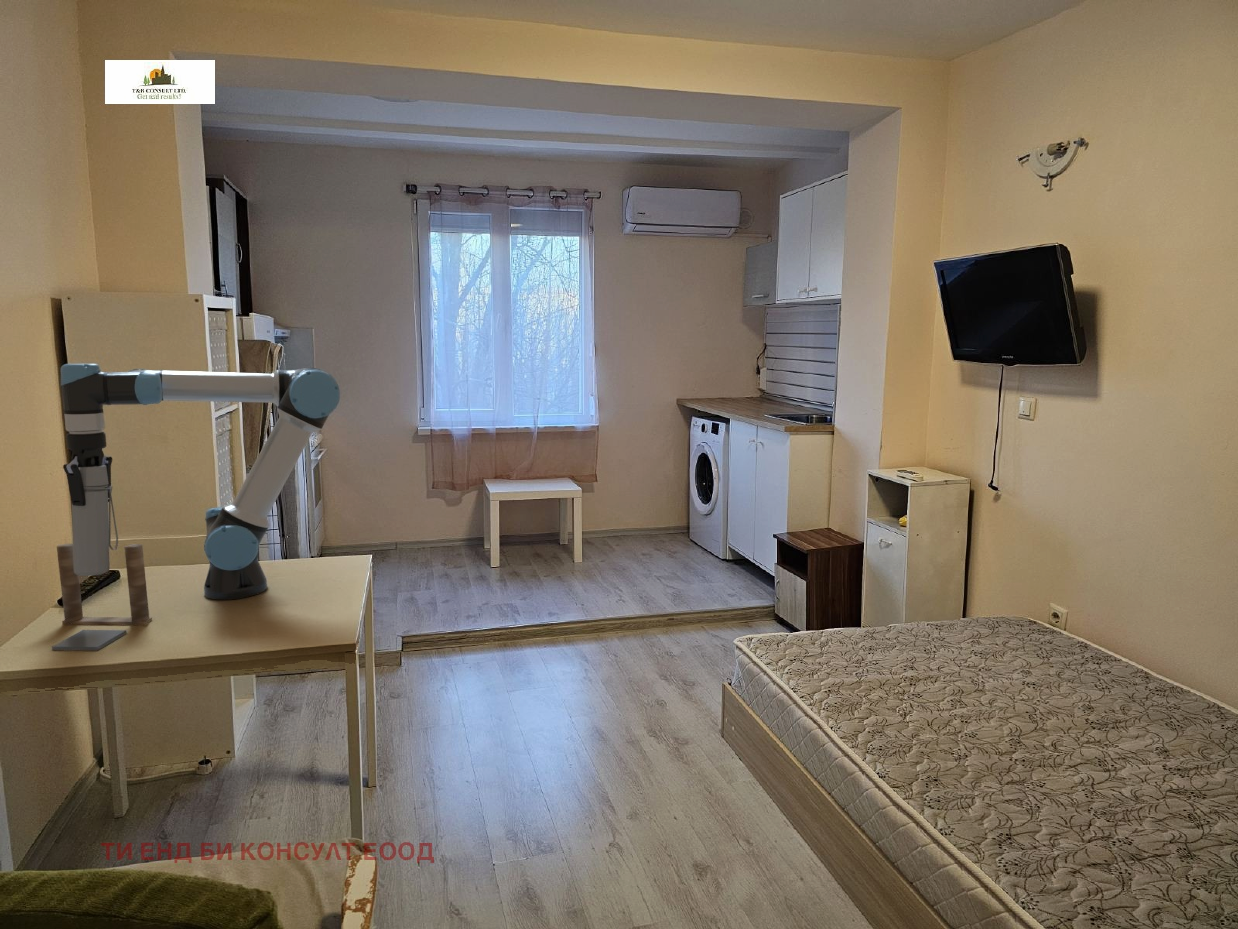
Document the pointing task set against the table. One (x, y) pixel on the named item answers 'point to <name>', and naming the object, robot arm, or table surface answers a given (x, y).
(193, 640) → the table surface
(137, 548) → the gate
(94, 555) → the water bottle
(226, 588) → the robot arm
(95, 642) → the pad
